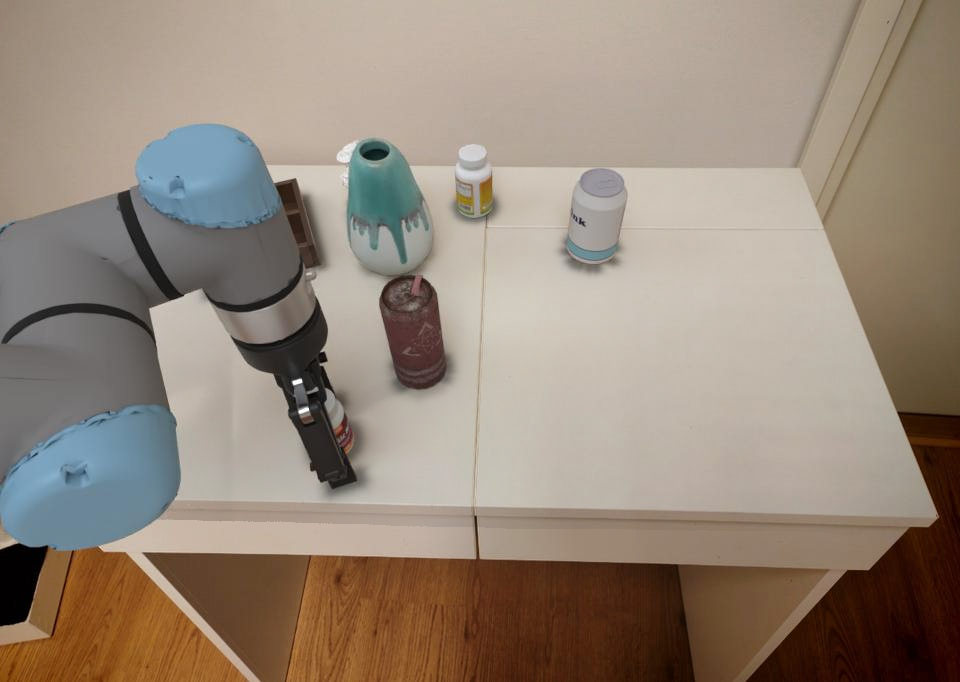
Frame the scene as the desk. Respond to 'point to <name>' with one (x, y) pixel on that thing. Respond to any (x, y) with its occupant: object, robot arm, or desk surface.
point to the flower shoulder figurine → (346, 159)
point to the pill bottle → (338, 420)
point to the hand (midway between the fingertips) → (334, 440)
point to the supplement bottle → (473, 181)
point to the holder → (298, 220)
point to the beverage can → (596, 215)
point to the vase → (386, 210)
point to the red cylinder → (413, 330)
